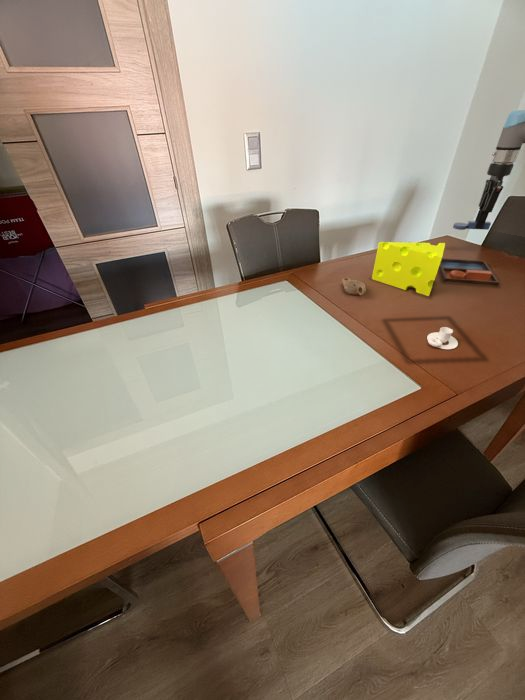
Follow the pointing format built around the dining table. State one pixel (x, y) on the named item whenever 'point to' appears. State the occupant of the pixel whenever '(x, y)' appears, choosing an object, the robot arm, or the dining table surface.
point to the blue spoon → (470, 225)
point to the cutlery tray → (464, 265)
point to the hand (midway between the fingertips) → (477, 227)
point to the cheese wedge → (408, 265)
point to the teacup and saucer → (442, 339)
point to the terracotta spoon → (471, 274)
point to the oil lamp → (354, 286)
